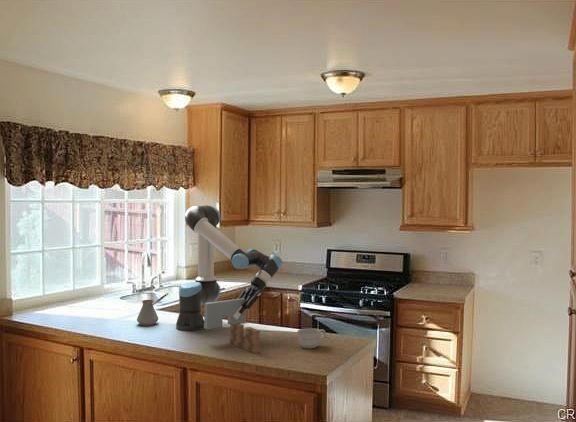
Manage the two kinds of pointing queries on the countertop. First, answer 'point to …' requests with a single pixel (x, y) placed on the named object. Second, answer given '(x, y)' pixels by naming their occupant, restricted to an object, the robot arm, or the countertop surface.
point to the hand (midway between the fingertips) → (233, 317)
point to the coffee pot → (148, 312)
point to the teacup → (310, 337)
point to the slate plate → (222, 312)
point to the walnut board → (245, 337)
